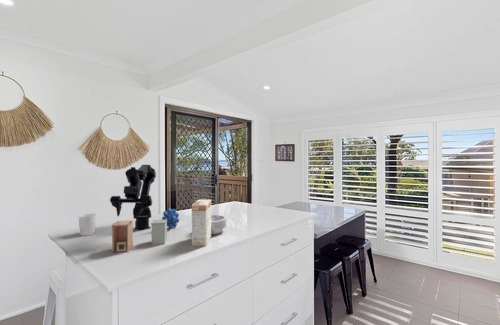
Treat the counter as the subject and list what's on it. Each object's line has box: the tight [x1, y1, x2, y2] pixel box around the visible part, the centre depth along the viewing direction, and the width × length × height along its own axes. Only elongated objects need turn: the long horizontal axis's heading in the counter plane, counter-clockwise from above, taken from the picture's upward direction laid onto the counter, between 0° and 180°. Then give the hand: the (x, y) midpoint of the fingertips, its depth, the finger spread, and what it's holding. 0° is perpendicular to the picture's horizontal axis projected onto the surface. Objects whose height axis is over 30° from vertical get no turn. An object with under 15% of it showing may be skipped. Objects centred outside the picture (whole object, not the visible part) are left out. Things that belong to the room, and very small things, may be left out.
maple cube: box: [116, 239, 127, 252], centre depth 118 cm, size 4×4×4 cm
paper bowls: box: [211, 214, 227, 235], centre depth 146 cm, size 15×15×8 cm
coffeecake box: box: [191, 198, 212, 247], centre depth 130 cm, size 15×7×20 cm, turn 178°
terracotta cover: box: [111, 220, 134, 253], centre depth 118 cm, size 7×7×12 cm
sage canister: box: [150, 219, 168, 245], centre depth 128 cm, size 6×6×10 cm
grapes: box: [161, 207, 180, 229], centre depth 152 cm, size 12×7×12 cm, turn 145°
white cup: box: [78, 213, 97, 237], centre depth 141 cm, size 8×8×10 cm
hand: (128, 215), depth 126 cm, fingers open, 9 cm apart
